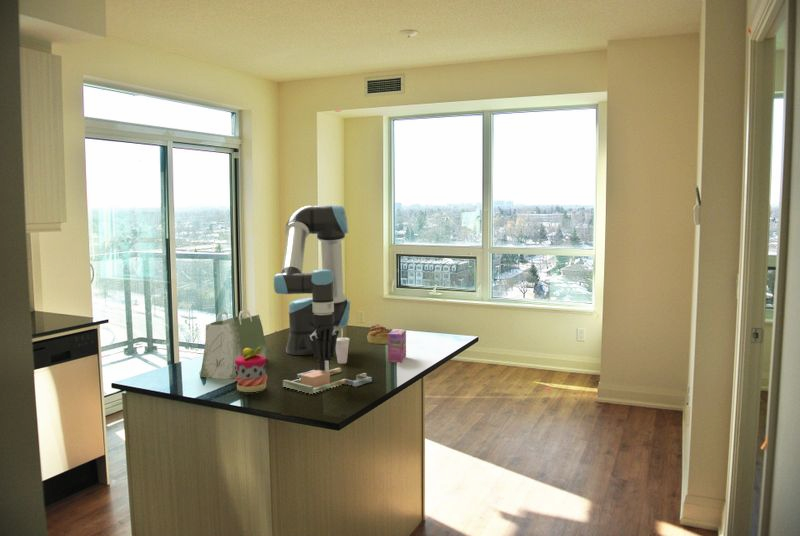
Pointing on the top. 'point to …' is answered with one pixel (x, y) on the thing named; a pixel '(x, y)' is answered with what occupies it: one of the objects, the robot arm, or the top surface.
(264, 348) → the grocery bag
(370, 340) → the pastry
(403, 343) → the box
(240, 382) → the cake
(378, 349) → the top surface
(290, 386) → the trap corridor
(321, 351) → the robot arm
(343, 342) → the smoothie
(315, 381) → the block
